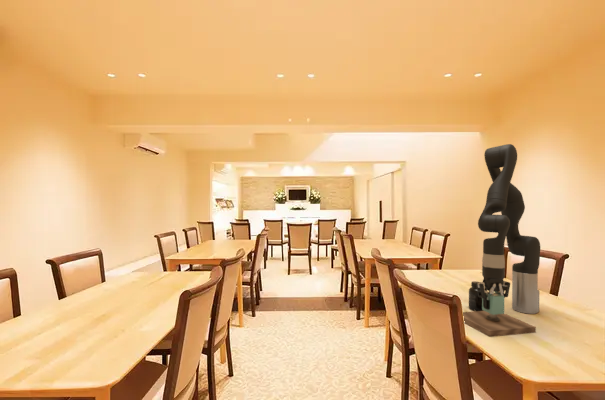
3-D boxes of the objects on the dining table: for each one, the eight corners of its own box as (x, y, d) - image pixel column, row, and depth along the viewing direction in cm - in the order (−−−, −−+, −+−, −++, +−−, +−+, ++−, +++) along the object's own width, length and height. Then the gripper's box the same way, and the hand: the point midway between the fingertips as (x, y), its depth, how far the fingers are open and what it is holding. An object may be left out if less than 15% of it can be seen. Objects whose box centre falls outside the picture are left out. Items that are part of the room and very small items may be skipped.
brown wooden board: (495, 314, 131) (495, 293, 131) (535, 332, 113) (535, 308, 113) (454, 317, 127) (454, 296, 127) (489, 336, 109) (489, 312, 109)
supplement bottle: (488, 312, 133) (488, 285, 133) (471, 311, 134) (471, 284, 134) (482, 307, 140) (482, 281, 140) (466, 306, 141) (466, 280, 141)
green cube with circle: (493, 309, 123) (493, 291, 123) (504, 313, 118) (504, 295, 118) (482, 309, 122) (482, 292, 122) (492, 314, 117) (492, 296, 117)
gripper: (500, 262, 125) (500, 304, 125) (470, 263, 122) (470, 306, 122) (517, 266, 118) (516, 310, 118) (485, 268, 115) (484, 313, 115)
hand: (493, 308), depth 120 cm, fingers closed on green cube with circle, 5 cm apart
